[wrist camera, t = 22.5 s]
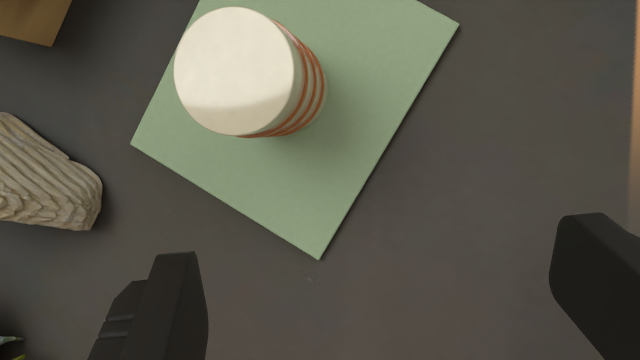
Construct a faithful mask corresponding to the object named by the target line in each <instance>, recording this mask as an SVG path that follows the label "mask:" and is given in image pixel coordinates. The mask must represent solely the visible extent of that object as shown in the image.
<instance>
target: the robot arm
mask: <svg viewBox="0 0 640 360" xmlns="http://www.w3.org/2000/svg"><path fill="white" fill-rule="evenodd" d="M549 284H550V288H551V292H552V294H553V296H554V298H555V300H556V301H557V303H558V304H559V305H560V306H561V308H562V309H563V310H564V311H565V312H566V314H567V315H568V316H569V317H570V318H571V320H572V321H573V322H574V323H575V324H576V326H577V327H578V328H579V329H580V330H581V331H582V333H583V334H584V335H585V336H586V337H587V339H588V340H589V341H590V342H591V343H592V345H593V346H594V347H595V348H596V349H597V351H598V352H599V353H600V354H601V355H602V357H603V358H604V359H605V360H640V238H639V237H637V236H635V235H633V234H631V233H629V232H627V231H626V230H624V229H623V228H622V227H621V226H619V225H618V224H617V223H615V222H614V221H613V220H611V219H610V218H609V217H608V216H606V215H605V214H603V213H589V214H579V215H568V216H564V217H563V218H562V219H561V220H560V222H559V224H558V229H557V234H556V239H555V244H554V250H553V255H552V260H551V266H550V271H549ZM207 341H208V313H207V306H206V301H205V296H204V291H203V286H202V280H201V275H200V270H199V265H198V260H197V256H196V254H195V252H194V251H190V252H179V253H169V254H159V255H157V256H156V258H155V261H154V264H153V266H152V269H151V272H150V274H149V277H148V280H140V281H132V282H131V283H130V284H129V285H128V286H127V287H126V288H125V289H124V290H123V291H122V292H121V293H120V294H119V295H118V296H117V297H116V298H115V299H114V301H113V303H112V306H111V308H110V310H109V312H108V314H107V317H106V322H104V323H103V326H102V328H101V330H100V332H99V338H98V339H96V341H95V344H94V346H93V348H92V350H91V353H90V355H89V357H88V359H87V360H205V354H206V347H207Z"/></svg>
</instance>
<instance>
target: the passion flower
mask: <svg viewBox="0 0 640 360" xmlns="http://www.w3.org/2000/svg"><path fill="white" fill-rule="evenodd" d="M13 340H17V341H19V340H21V341H24V337H12V336H9V337H2V336H0V345H2V344H3V343H6V342H9V341H13ZM24 358H25V354H23V355H21V356H19V357H17V358H15V359H13V360H23V359H24Z"/></svg>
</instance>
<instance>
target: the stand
mask: <svg viewBox="0 0 640 360" xmlns="http://www.w3.org/2000/svg"><path fill="white" fill-rule="evenodd" d="M71 2H72V0H0V35H1V36H6V37H10V38H14V39H19V40H23V41H27V42H31V43H36V44H40V45H44V46H49V47H52V45H53V43H54V41H55V38H56V36H57V34H58V31H59V29H60V27H61V25H62V22H63V20H64V18H65V15H66V13H67V11H68V8H69V6H70V4H71Z"/></svg>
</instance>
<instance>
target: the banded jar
mask: <svg viewBox="0 0 640 360" xmlns="http://www.w3.org/2000/svg"><path fill="white" fill-rule="evenodd" d="M173 76H174V84H175V88H176V92H177V94H178V97H179V99H180V101H181V103H182V105H183V107H184V108H185V110H186V111H187V113H188V114H189V115H190V116H191V117H192V118H193V119H194V120H195V121H196V122H197V123H198V124H200V125H201V126H203V127H204V128H206V129H208V130H210V131H212V132H215V133H218V134H222V135H227V136H236V137H241V138H259V137H278V136H285V135H289V134H292V133H295V132H298V131H301V130H303V129H305V128H306V127H308V126H309V125H311V124H312V123H313V122H314V121H315V120H316V119H317V118H318V117H319V115H320V114H321V112H322V110H323V108H324V106H325V103H326V100H327V95H328V82H327V77H326V74H325V71H324V69H323V67H322V65H321V63H320V62H319V60H318V59H317V57H316V56H315V54H314V53H313V52H312V51H311V49H310V48H309V47H307V46H306V45H305V44H304V43H303V42H301V41H300V40H299V39H298V38H297V37H296V36H295V35H293V34H292V33H291V32H290V31H289V30H288V29H287V28H285V27H284V26H283V25H281V24H280V23H278V22H277V21H275V20H273V19H271V18H269V17H267V16H266V15H264V14H262V13H260V12H258V11H256V10H253V9H250V8H247V7H241V6H229V7H222V8H218V9H215V10H213V11H210V12H208V13H206V14H204V15H203V16H201V17H200V18H199V19H197V20H196V21H195V22H194V23H193V24H192V25H191V26H190V27H189V28H188V29H187V31H186V32H185V33H184V35H183V37H182V39H181V40H180V42H179V45H178V47H177V50H176V54H175V58H174V65H173Z"/></svg>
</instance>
